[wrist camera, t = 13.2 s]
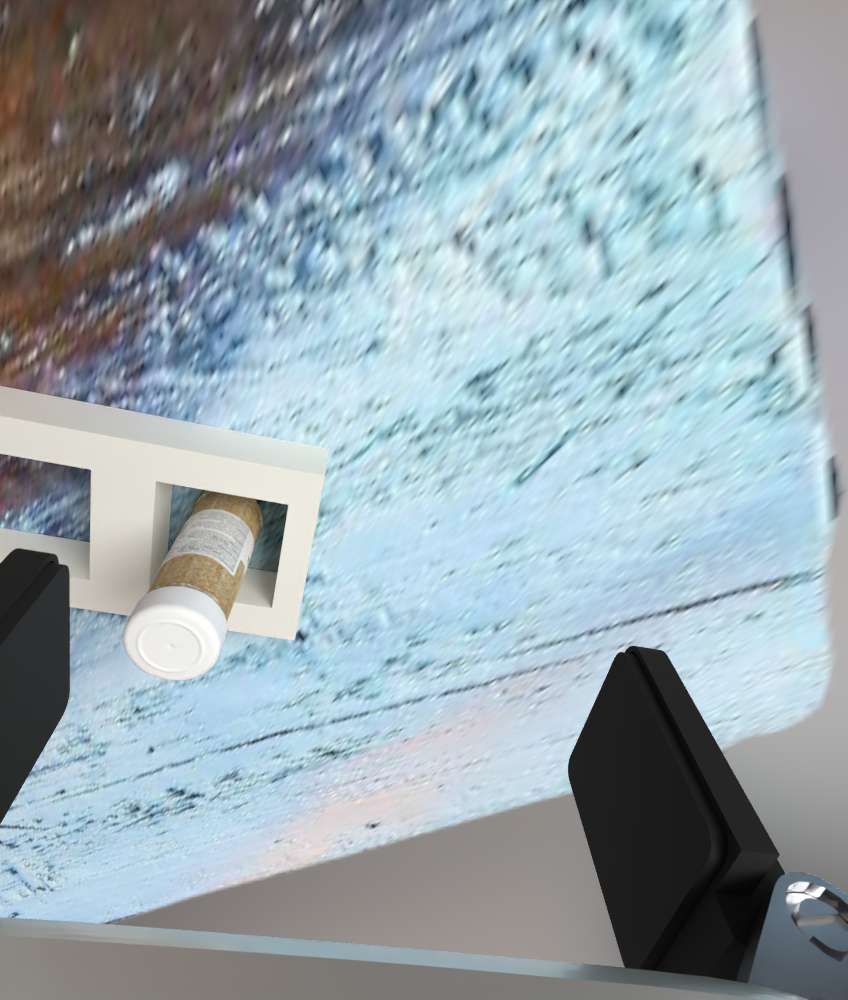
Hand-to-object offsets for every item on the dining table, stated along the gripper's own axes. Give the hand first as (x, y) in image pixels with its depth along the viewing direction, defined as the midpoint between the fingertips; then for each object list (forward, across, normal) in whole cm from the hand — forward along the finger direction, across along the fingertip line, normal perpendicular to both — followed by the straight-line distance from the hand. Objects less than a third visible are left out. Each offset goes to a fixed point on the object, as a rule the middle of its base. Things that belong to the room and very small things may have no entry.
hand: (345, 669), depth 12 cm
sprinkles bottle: (+31, +7, +15) cm, 35 cm away
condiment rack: (+30, +12, +15) cm, 36 cm away
